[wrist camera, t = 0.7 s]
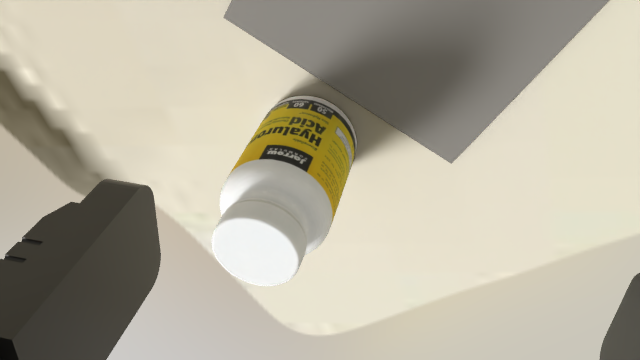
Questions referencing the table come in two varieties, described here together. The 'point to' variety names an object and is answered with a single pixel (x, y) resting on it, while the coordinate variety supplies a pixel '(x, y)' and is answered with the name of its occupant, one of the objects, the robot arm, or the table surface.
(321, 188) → the supplement bottle
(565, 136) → the table surface
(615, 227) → the table surface
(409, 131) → the mat
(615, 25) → the table surface
